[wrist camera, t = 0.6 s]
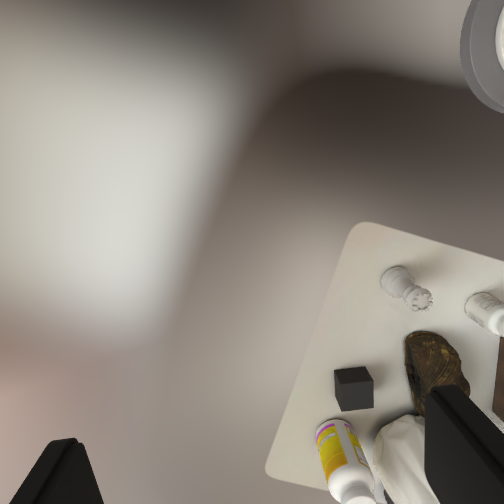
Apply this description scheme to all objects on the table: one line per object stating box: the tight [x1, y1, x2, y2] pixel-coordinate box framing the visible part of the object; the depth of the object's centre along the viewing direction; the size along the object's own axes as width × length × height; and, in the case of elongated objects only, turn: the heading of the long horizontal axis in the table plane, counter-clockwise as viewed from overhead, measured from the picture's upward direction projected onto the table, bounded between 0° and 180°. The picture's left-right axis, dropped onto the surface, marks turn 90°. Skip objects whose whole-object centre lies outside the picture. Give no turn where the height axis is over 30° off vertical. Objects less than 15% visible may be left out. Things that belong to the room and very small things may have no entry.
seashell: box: [405, 332, 470, 418], centre depth 52 cm, size 16×9×7 cm, turn 19°
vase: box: [373, 414, 440, 504], centre depth 51 cm, size 14×14×15 cm
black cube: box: [334, 367, 374, 411], centre depth 53 cm, size 5×5×4 cm
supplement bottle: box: [316, 419, 377, 504], centre depth 52 cm, size 7×7×13 cm
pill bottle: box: [465, 293, 504, 337], centre depth 48 cm, size 4×4×8 cm
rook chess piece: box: [381, 267, 433, 312], centre depth 46 cm, size 4×4×8 cm
